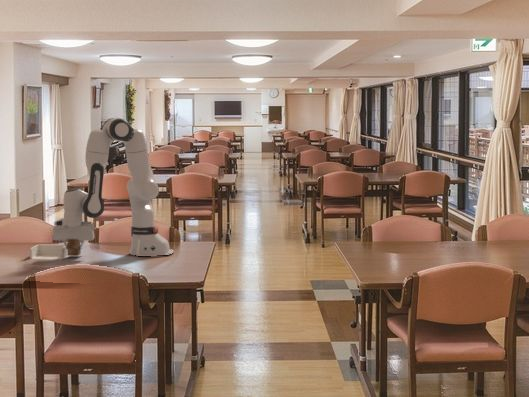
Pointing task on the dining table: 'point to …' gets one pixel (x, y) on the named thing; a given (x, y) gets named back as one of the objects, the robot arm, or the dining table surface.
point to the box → (48, 252)
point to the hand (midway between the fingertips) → (73, 249)
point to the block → (73, 247)
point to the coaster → (73, 257)
